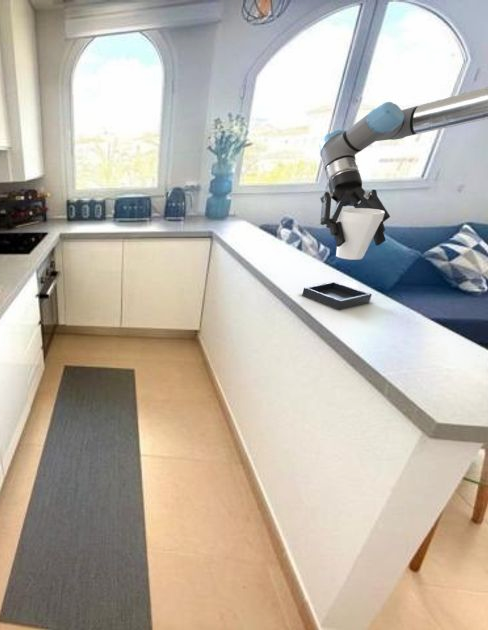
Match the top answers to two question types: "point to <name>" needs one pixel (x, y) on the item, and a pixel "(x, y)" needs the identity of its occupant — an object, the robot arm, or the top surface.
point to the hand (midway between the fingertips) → (360, 243)
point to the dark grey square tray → (336, 295)
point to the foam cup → (358, 231)
